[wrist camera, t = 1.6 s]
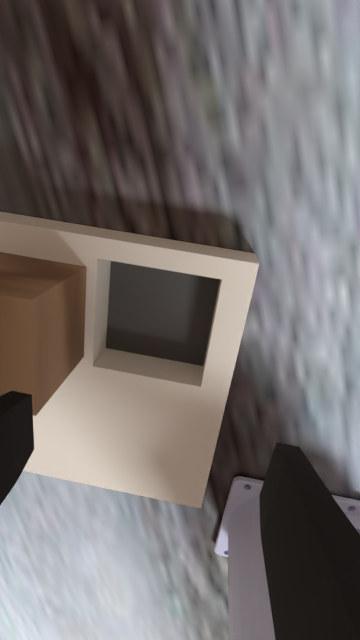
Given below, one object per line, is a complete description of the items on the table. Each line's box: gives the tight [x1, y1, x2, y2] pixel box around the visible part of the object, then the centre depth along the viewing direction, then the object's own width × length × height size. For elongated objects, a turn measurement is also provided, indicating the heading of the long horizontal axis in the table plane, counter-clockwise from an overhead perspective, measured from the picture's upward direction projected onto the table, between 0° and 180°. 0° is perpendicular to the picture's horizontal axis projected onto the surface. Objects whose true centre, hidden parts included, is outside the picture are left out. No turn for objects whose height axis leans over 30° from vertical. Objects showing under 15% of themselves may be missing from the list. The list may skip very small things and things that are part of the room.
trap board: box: [0, 212, 259, 508], centre depth 19 cm, size 22×16×4 cm
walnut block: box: [0, 252, 87, 416], centre depth 15 cm, size 5×5×5 cm
